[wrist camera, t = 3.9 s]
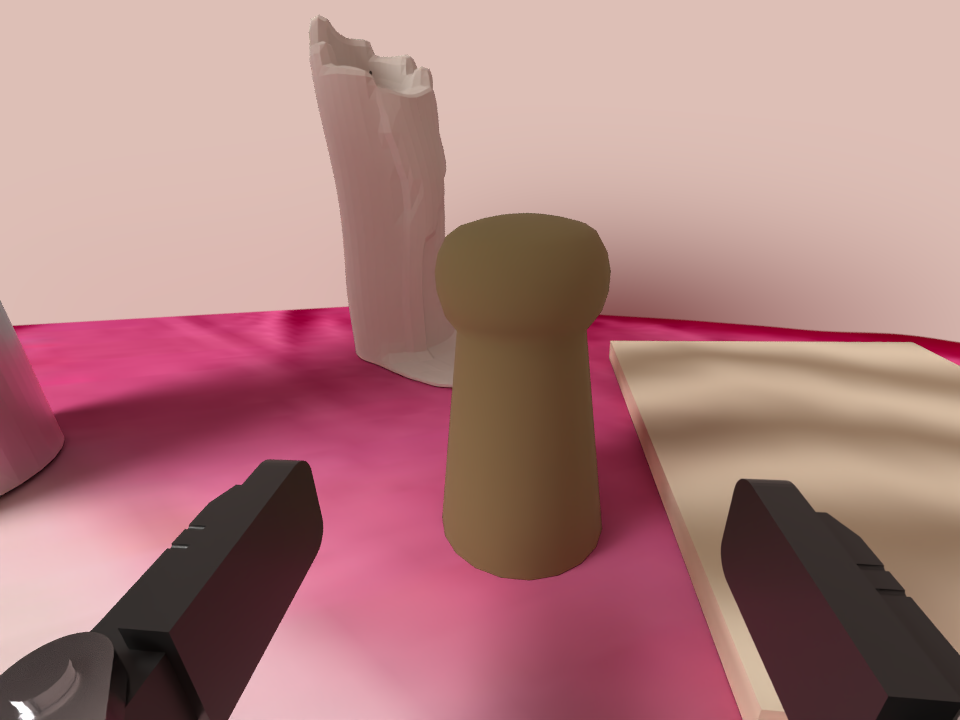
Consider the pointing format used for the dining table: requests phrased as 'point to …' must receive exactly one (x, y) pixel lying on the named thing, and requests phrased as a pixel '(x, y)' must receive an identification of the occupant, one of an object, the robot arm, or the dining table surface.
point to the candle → (386, 201)
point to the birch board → (802, 462)
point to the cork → (522, 392)
